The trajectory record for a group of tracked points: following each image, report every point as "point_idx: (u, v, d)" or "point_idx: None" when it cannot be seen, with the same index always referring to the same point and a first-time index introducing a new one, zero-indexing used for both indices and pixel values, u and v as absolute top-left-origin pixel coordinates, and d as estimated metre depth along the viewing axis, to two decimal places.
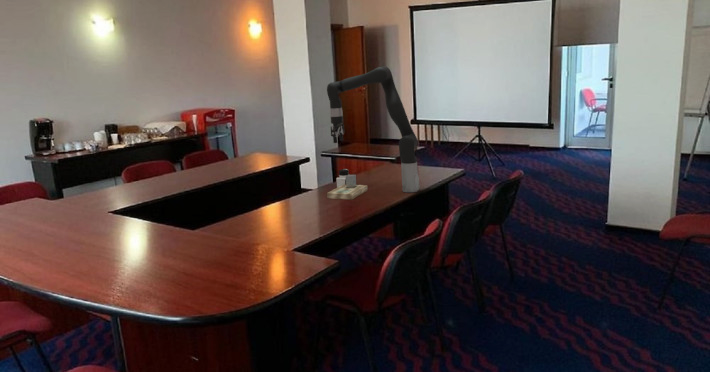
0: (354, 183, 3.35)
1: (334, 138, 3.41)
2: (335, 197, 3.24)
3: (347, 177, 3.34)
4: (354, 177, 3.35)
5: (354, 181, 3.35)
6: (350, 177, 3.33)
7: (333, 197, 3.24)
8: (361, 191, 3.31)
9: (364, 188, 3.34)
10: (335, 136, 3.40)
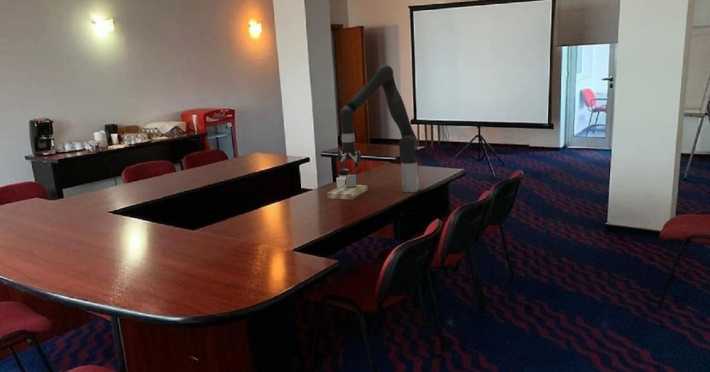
0: (354, 183, 3.35)
1: None
2: (335, 197, 3.24)
3: (347, 177, 3.34)
4: (354, 177, 3.35)
5: (354, 181, 3.35)
6: (350, 177, 3.33)
7: (333, 197, 3.24)
8: (361, 191, 3.31)
9: (364, 188, 3.34)
10: None
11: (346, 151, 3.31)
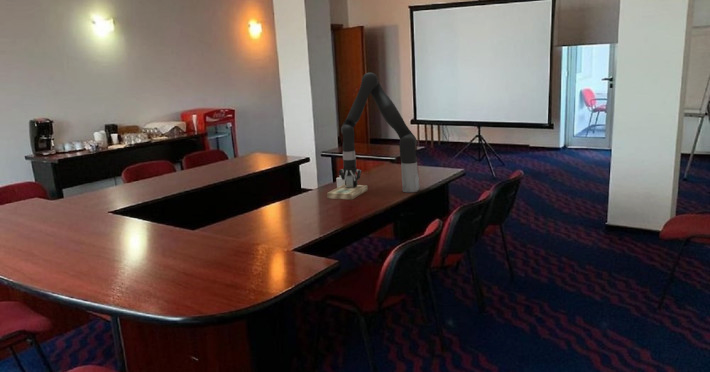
0: None
1: (356, 181, 3.34)
2: (335, 197, 3.24)
3: (347, 177, 3.34)
4: None
5: None
6: (350, 177, 3.33)
7: (333, 197, 3.24)
8: (361, 191, 3.31)
9: (364, 188, 3.34)
10: (357, 179, 3.35)
11: (347, 168, 3.33)
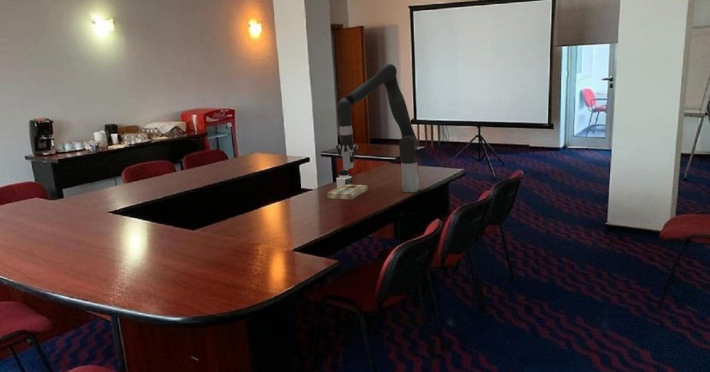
0: None
1: (352, 157, 3.30)
2: (335, 197, 3.24)
3: (344, 153, 3.29)
4: None
5: None
6: (347, 152, 3.28)
7: (333, 197, 3.24)
8: (361, 191, 3.31)
9: (364, 188, 3.34)
10: (353, 155, 3.30)
11: (344, 144, 3.29)
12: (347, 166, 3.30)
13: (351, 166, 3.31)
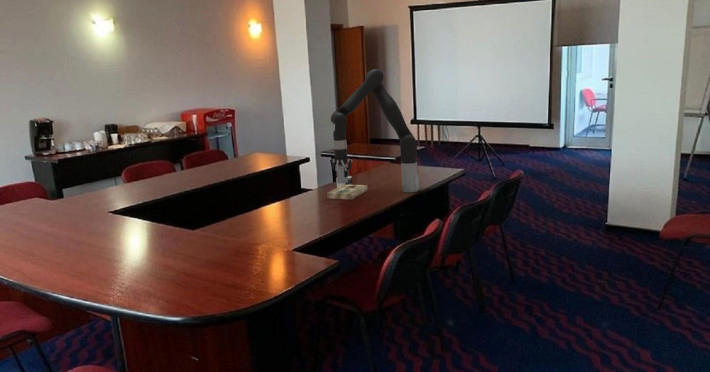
0: None
1: None
2: (335, 197, 3.24)
3: (338, 167, 3.22)
4: None
5: None
6: (341, 167, 3.21)
7: (333, 197, 3.24)
8: (361, 191, 3.31)
9: (364, 188, 3.34)
10: (348, 169, 3.23)
11: (338, 158, 3.22)
12: (342, 181, 3.23)
13: (345, 181, 3.24)
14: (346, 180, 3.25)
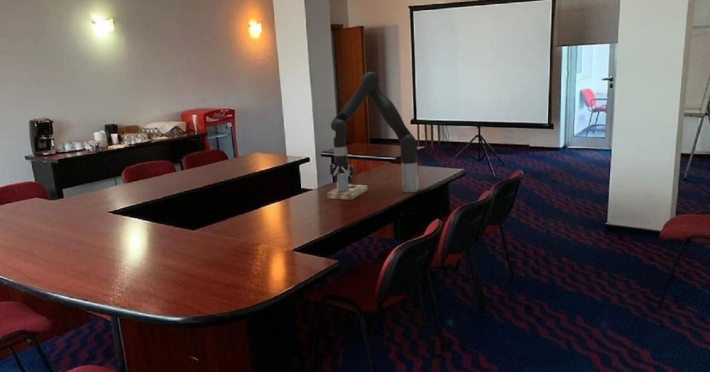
0: (346, 182, 3.24)
1: None
2: (335, 197, 3.24)
3: (339, 176, 3.23)
4: (346, 176, 3.24)
5: (346, 180, 3.24)
6: (342, 176, 3.22)
7: (333, 197, 3.24)
8: (361, 191, 3.31)
9: (364, 188, 3.34)
10: (351, 174, 3.23)
11: (339, 165, 3.23)
12: (343, 190, 3.24)
13: (346, 189, 3.25)
14: (347, 189, 3.26)
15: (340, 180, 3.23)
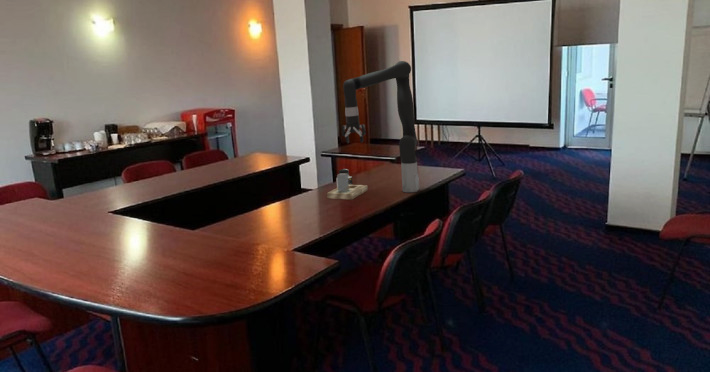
0: (346, 182, 3.24)
1: None
2: (335, 197, 3.24)
3: (339, 176, 3.23)
4: (346, 176, 3.24)
5: (346, 180, 3.24)
6: (342, 176, 3.22)
7: (333, 197, 3.24)
8: (361, 191, 3.31)
9: (364, 188, 3.34)
10: None
11: (350, 125, 3.24)
12: (343, 190, 3.24)
13: (346, 189, 3.25)
14: (347, 189, 3.26)
15: (340, 180, 3.23)
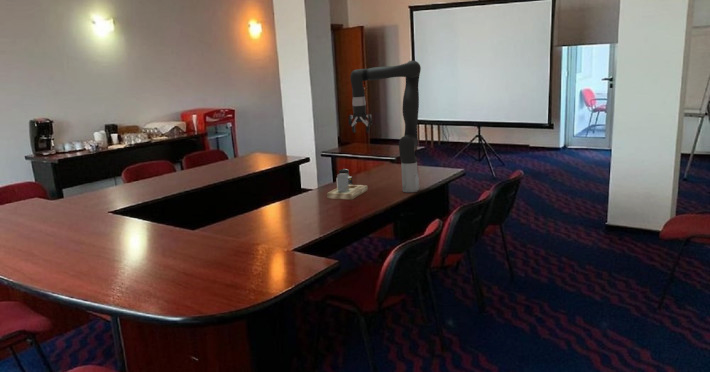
0: (346, 182, 3.24)
1: None
2: (335, 197, 3.24)
3: (339, 176, 3.23)
4: (346, 176, 3.24)
5: (346, 180, 3.24)
6: (342, 176, 3.22)
7: (333, 197, 3.24)
8: (361, 191, 3.31)
9: (364, 188, 3.34)
10: None
11: (357, 115, 3.27)
12: (343, 190, 3.24)
13: (346, 189, 3.25)
14: (347, 189, 3.26)
15: (340, 180, 3.23)
